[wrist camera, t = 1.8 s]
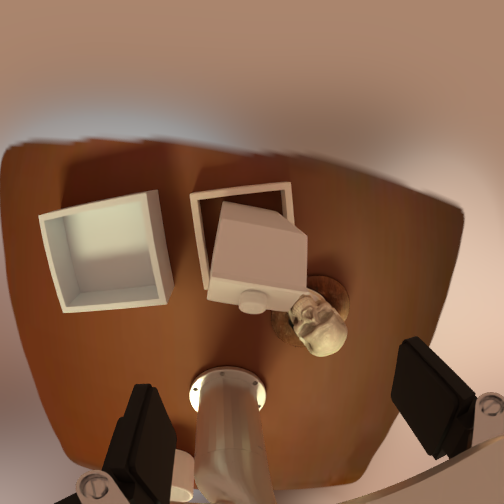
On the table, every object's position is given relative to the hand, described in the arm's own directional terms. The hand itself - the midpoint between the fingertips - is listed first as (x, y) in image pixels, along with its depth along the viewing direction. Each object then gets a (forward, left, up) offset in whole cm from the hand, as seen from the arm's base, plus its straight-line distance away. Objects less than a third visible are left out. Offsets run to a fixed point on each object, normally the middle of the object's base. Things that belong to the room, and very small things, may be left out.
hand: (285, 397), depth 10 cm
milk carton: (0, -1, -31) cm, 31 cm away
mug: (-45, +21, -31) cm, 58 cm away
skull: (-13, -9, -31) cm, 35 cm away
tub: (0, +17, -30) cm, 35 cm away
